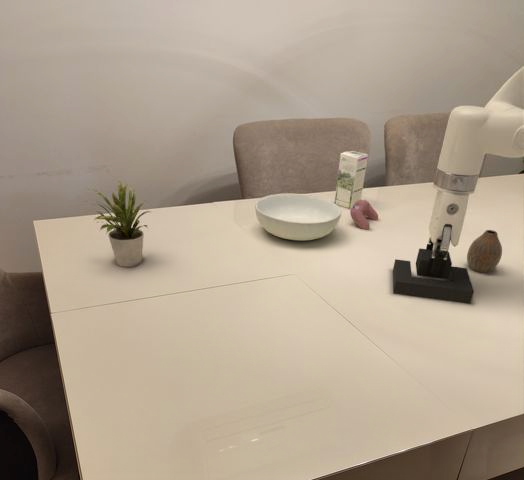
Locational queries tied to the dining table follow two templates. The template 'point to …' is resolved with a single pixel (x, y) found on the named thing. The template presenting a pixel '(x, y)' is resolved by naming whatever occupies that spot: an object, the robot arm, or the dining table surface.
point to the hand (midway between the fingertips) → (432, 268)
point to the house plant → (124, 228)
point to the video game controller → (363, 213)
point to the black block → (423, 262)
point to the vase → (485, 252)
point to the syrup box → (350, 178)
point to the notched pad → (432, 284)
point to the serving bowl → (297, 216)
